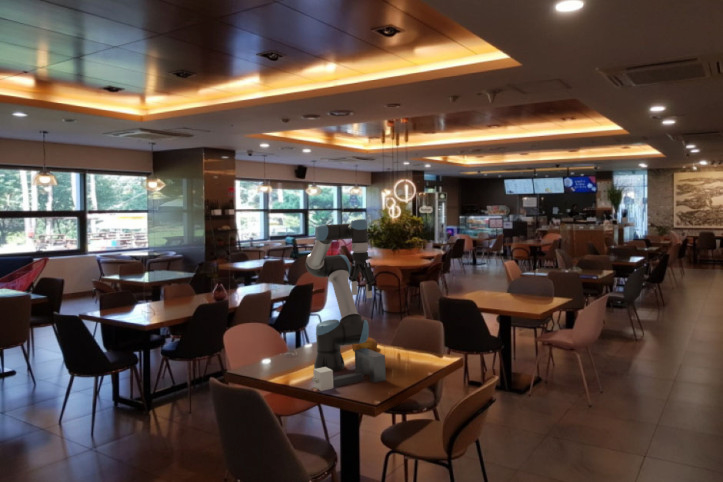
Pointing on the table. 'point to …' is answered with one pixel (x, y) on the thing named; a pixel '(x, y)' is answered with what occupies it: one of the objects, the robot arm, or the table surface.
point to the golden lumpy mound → (366, 345)
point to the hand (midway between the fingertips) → (362, 296)
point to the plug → (333, 378)
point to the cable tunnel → (370, 364)
